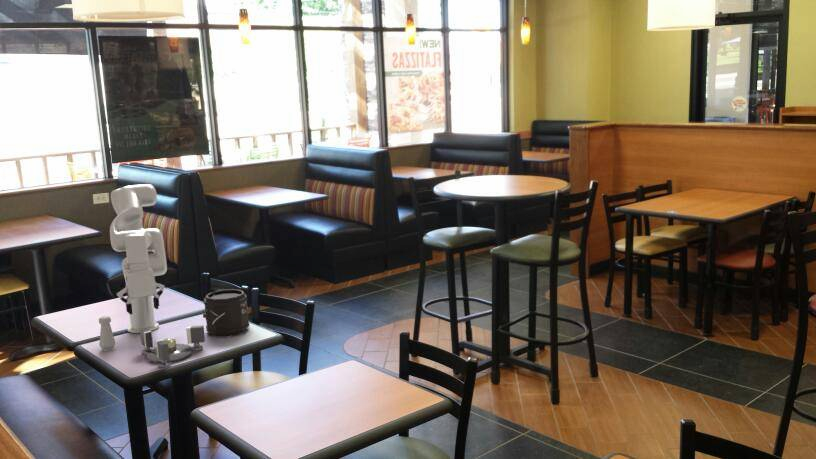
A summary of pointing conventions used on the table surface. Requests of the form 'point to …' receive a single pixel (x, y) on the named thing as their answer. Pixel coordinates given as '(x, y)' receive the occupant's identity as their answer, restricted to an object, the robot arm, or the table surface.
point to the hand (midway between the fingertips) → (143, 311)
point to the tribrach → (171, 353)
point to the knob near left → (195, 335)
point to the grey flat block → (146, 338)
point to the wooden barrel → (226, 313)
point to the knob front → (162, 350)
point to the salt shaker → (106, 334)
